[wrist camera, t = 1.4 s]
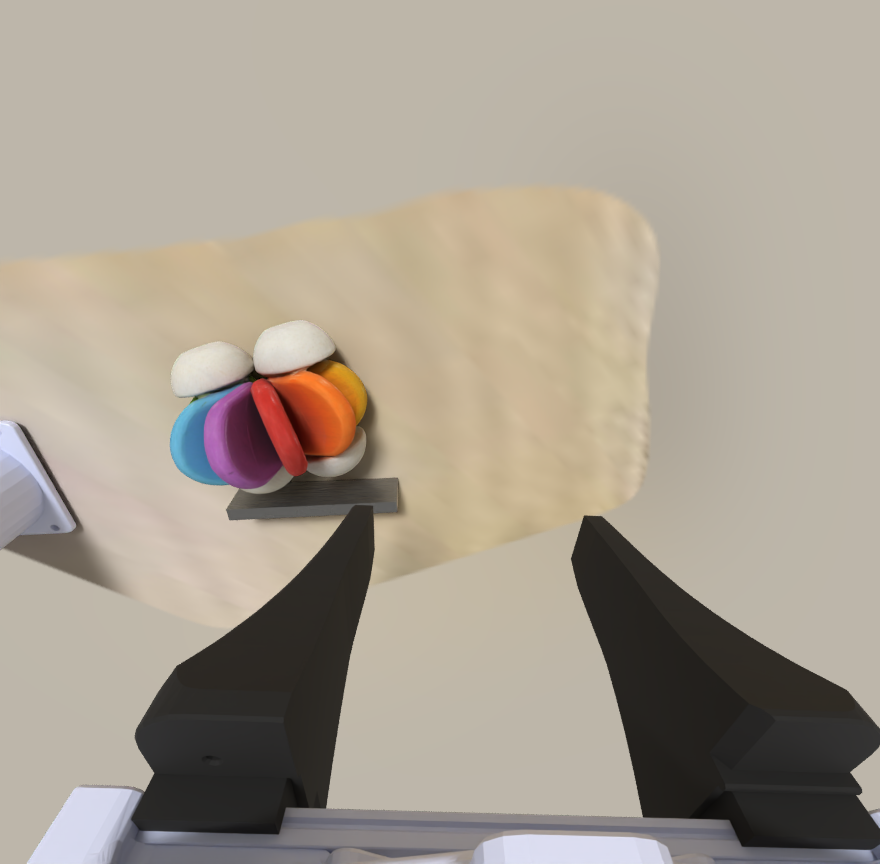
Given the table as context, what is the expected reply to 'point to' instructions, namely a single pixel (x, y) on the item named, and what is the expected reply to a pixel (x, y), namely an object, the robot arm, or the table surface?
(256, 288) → the table surface
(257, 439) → the rainbow disc baby rattle
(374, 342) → the table surface
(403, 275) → the table surface
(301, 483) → the rail
